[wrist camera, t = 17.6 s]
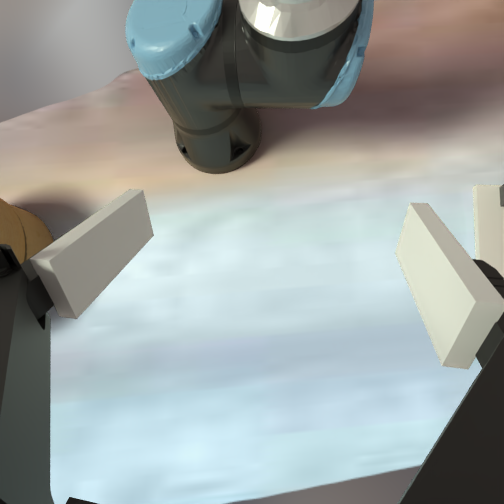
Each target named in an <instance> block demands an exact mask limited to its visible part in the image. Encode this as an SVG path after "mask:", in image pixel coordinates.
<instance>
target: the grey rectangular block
mask: <svg viewBox="0 0 504 504" xmlns="http://www.w3.org/2000/svg"><path fill="white" fill-rule="evenodd" d="M499 190H500V207H504V185H502V186H501V187H499Z"/></svg>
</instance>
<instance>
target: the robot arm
mask: <svg viewBox="0 0 504 504" xmlns="http://www.w3.org/2000/svg"><path fill="white" fill-rule="evenodd" d="M373 7H374V0H134V2H133V4H132V6H131V8H130V10H129V13H128V16H127V20H126V39H127V43H128V46H129V48H130V50H131V52H132V54H133V56H134V58H135V60H136V62H137V64H138V67H139V70H140V72H141V73H142V74H143V76H144V77H145V78H146V79H147V81H148V82H149V84H150V86H151V87H152V89H153V90H154V92H155V93H156V95H157V97H158V98H159V100H160V101H161V103H162V104H163V106H164V107H165V109H166V111H167V112H168V114H169V115H170V117H171V119H172V120H173V125H174V133H175V139H176V144H177V146H178V149H179V151H180V152H181V154H182V155H183V157H184V158H185V160H186V161H187V162H188V163H189V164H190V165H191V166H192V167H194V168H196V169H197V170H200V171H202V172H206V173H212V174H219V173H226V172H229V171H232V170H235V169H237V168H239V167H240V166H242V165H243V164H245V163H246V162H247V161H248V160H249V159H250V158H251V157H252V156H253V154H254V153H255V151H256V150H257V148H258V146H259V143H260V139H261V124H260V118H259V115H258V112H257V110H256V108H305V109H317V108H319V107H329V106H337V105H339V104H341V103H343V102H344V101H345V100H346V99H347V98H348V97H349V95H350V94H351V92H352V90H353V88H354V86H355V84H356V82H357V79H358V76H359V74H360V71H361V68H362V65H363V61H364V51H365V49H366V47H367V44H368V41H369V37H370V32H371V26H372V19H373ZM153 236H154V234H153V230H152V226H151V222H150V217H149V213H148V209H147V205H146V200H145V196H144V192H143V190H136V189H129V190H128V191H126V192H125V193H124V194H122V195H121V196H119V197H118V198H116V199H115V200H113V201H112V202H111V203H109V204H108V205H106V206H105V207H103V208H102V209H101V210H99V211H98V212H96V213H95V214H93V215H92V216H91V217H89V218H88V219H86V220H85V221H83V222H82V223H80V224H79V225H78V226H76V227H75V228H73V229H72V230H70V231H69V232H68V233H66V234H64V235H62V236H61V237H59V238H58V239H56V240H55V241H53V243H51V244H49V245H48V246H46V248H43V249H42V250H40V251H39V252H38V253H36V254H35V255H33V256H32V257H30V258H29V259H27V260H26V261H25V262H23V263H22V264H20V262H19V260H18V259H17V257H16V255H15V253H14V251H13V250H12V248H11V246H10V245H7V244H0V504H54V502H53V499H52V496H51V491H50V320H51V319H50V317H49V315H48V313H47V311H48V310H49V309H50V308H51V307H52V306H54V307H55V309H56V311H57V312H58V314H59V316H60V317H66V318H74V319H77V318H78V317H79V316H80V315H81V314H82V313H83V312H84V311H85V310H86V308H87V307H88V306H89V305H90V304H91V303H92V302H93V301H94V300H95V299H96V298H97V297H98V295H99V294H100V293H101V292H102V291H103V290H104V289H105V288H106V287H107V286H108V285H109V283H110V282H111V281H112V280H113V279H114V278H115V277H116V276H117V275H118V274H119V273H120V272H121V270H122V269H123V268H124V267H125V266H126V265H127V264H128V263H129V262H130V261H131V260H132V258H133V257H134V256H135V255H136V254H137V253H138V252H139V251H140V250H141V249H142V248H143V247H144V245H145V244H146V243H147V242H148V241H149V240H150V239H151V238H152V237H153ZM395 255H396V257H397V259H398V262H399V264H400V267H401V269H402V271H403V274H404V276H405V279H406V281H407V283H408V286H409V288H410V291H411V293H412V295H413V298H414V300H415V303H416V305H417V307H418V310H419V312H420V315H421V317H422V319H423V322H424V324H425V327H426V329H427V331H428V334H429V336H430V339H431V341H432V343H433V346H434V348H435V351H436V353H437V355H438V358H439V360H440V363H441V365H442V366H446V367H454V368H462V369H469V367H470V366H471V364H472V362H473V361H474V359H475V358H476V357H477V359H478V361H479V363H480V365H481V367H482V370H481V371H480V373H479V374H478V376H477V377H476V379H475V380H474V382H473V383H472V385H471V387H470V388H469V390H468V392H467V393H466V395H465V397H464V398H463V400H462V401H461V403H460V405H459V406H458V408H457V409H456V411H455V412H454V414H453V416H452V417H451V419H450V420H449V422H448V424H447V425H446V427H445V428H444V430H443V432H442V433H441V435H440V436H439V438H438V440H437V441H436V443H435V444H434V446H433V448H432V449H431V451H430V452H429V454H428V455H427V457H426V459H425V460H424V462H423V463H422V465H421V467H420V468H419V470H418V472H417V473H416V475H415V476H414V478H413V479H412V481H411V483H410V484H409V486H408V487H407V489H406V491H405V492H404V494H403V495H402V497H401V499H400V500H399V502H398V503H397V504H504V278H503V277H502V275H501V274H500V273H499V272H498V271H497V270H496V269H495V268H494V267H492V266H491V265H489V264H488V263H486V262H485V261H483V260H476V259H471V257H470V256H469V255H468V254H467V252H466V251H465V250H464V248H463V247H462V246H461V245H460V243H459V242H458V241H457V240H456V238H455V237H454V236H453V235H452V233H451V232H450V231H449V229H448V228H447V227H446V226H445V224H444V223H443V222H442V221H441V219H440V218H439V217H438V216H437V214H436V213H435V212H434V211H433V209H432V208H431V207H430V205H429V204H428V203H410V204H409V207H408V210H407V214H406V217H405V221H404V224H403V228H402V231H401V234H400V238H399V241H398V245H397V248H396V251H395ZM66 504H97V503H93V502H89V501H85V500H80V499H76V498H72V497H69V499H68V501H67V502H66Z"/></svg>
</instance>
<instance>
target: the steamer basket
mask: <svg viewBox="0 0 504 504" xmlns="http://www.w3.org/2000/svg"><path fill="white" fill-rule="evenodd" d="M51 243H53V238H52V236H51V233H50V231H49V230H48V228H47V227H46V225H45V224H44V223H43V221H42V220H40V219H39V218H38V217H37V216H36V215H34V214H32V213H30V212H28V211H25V210H23V209H20V208H18V207H15V206H12V205H10V204H8V203H6V202H5V201H4V200H2V199H1V198H0V244H7V245H10V246H11V248H12V250H13V251H14V253H15V255H16V257H17V259H18V260H19V262H20V264H22V263H23V262H25V261H26V260H27V259H29V258H30V257H32V256H33V255H35V254H36V253H38V252H39V251H40V250H42V249H43V248H46V246H48V245H49V244H51Z"/></svg>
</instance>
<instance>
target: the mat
mask: <svg viewBox="0 0 504 504" xmlns="http://www.w3.org/2000/svg"><path fill="white" fill-rule="evenodd" d="M499 187H501V185H475V186H474V187H473V206H474V231H475V256H476V260H483V261H485V262H486V263H488V264H489V265H491V266H492V267H494V268H495V269H496V270H497V271H498V272H499V273H500V274H501V275H502V277H503V278H504V207H500V190H499Z"/></svg>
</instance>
